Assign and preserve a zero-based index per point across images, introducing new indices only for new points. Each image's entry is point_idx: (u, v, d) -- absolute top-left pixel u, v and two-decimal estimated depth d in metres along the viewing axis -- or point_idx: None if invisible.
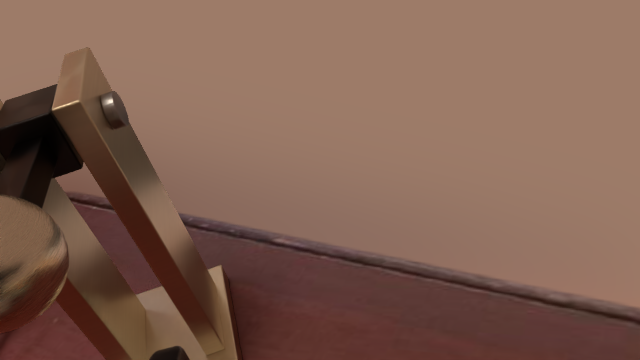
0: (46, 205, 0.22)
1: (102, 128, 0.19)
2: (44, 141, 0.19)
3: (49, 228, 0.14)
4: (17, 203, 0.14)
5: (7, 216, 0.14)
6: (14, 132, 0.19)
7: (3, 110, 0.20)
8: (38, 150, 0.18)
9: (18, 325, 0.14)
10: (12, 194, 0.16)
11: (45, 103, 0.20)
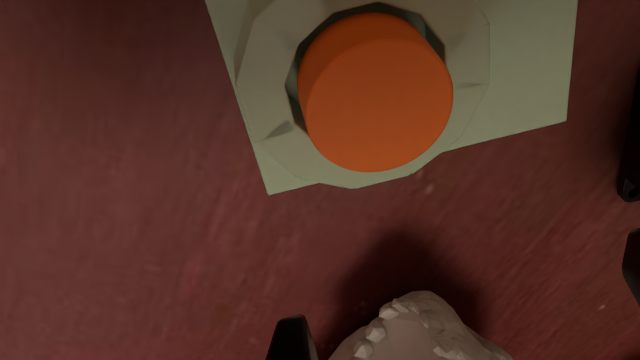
0: None
1: None
2: None
3: None
4: None
5: None
6: None
7: None
8: None
9: None
10: None
11: None
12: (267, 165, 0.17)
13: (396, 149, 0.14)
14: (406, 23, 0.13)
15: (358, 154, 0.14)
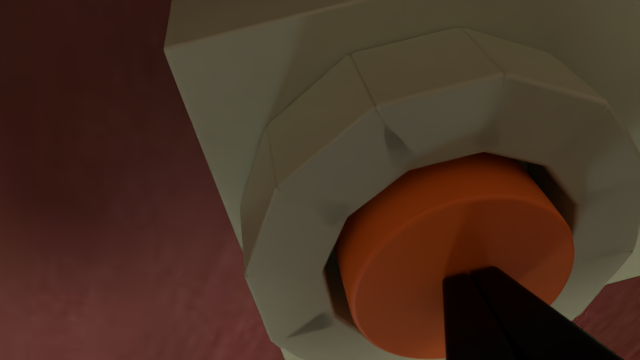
0: None
1: None
2: None
3: None
4: None
5: None
6: None
7: None
8: None
9: None
10: None
11: None
12: None
13: None
14: None
15: (425, 341, 0.09)
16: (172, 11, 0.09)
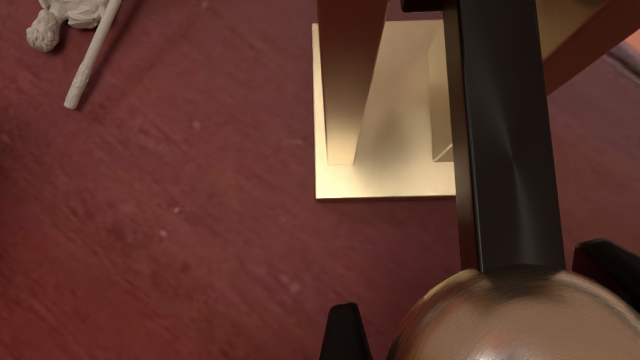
0: None
1: None
2: None
3: None
4: None
5: None
6: None
7: None
8: None
9: None
10: (536, 204, 0.07)
11: None
12: None
13: None
14: None
15: None
16: None
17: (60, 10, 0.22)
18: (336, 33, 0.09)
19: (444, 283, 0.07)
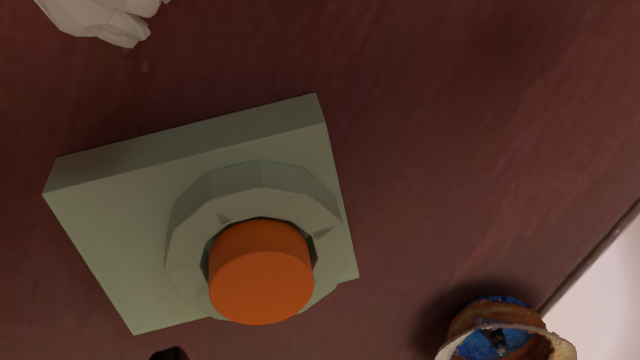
0: None
1: None
2: None
3: None
4: None
5: None
6: None
7: None
8: None
9: None
10: None
11: None
12: (324, 152, 0.20)
13: (246, 270, 0.18)
14: None
15: (275, 264, 0.18)
16: None
17: None
18: None
19: None
